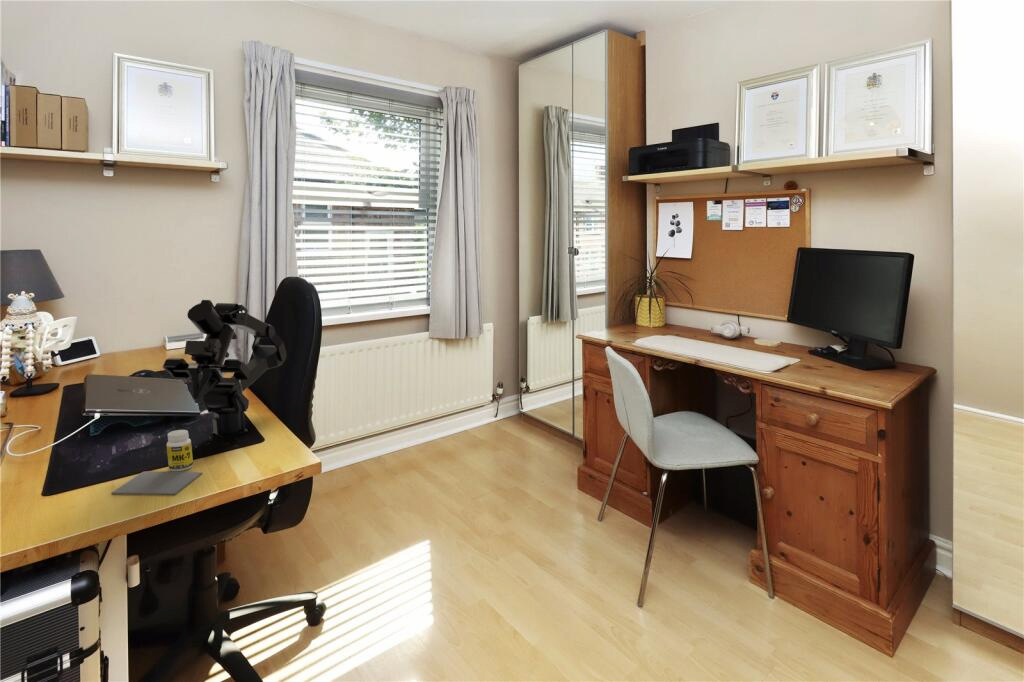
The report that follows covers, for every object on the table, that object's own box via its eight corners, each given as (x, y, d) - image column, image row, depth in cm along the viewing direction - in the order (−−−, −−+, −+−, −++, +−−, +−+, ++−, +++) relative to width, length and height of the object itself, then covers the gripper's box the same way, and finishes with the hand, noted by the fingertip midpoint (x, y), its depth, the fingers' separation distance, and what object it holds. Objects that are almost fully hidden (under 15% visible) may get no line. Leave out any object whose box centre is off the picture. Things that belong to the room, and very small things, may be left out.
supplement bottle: (171, 473, 121) (167, 438, 120) (167, 467, 125) (163, 432, 123) (195, 468, 124) (192, 433, 123) (190, 461, 128) (187, 427, 126)
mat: (144, 473, 121) (143, 471, 121) (202, 473, 121) (202, 472, 121) (111, 494, 112) (111, 492, 112) (175, 495, 112) (175, 493, 112)
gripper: (162, 325, 132) (137, 382, 123) (240, 327, 132) (220, 383, 123) (185, 350, 141) (163, 405, 132) (257, 351, 141) (240, 406, 132)
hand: (195, 399), depth 130 cm, fingers closed
